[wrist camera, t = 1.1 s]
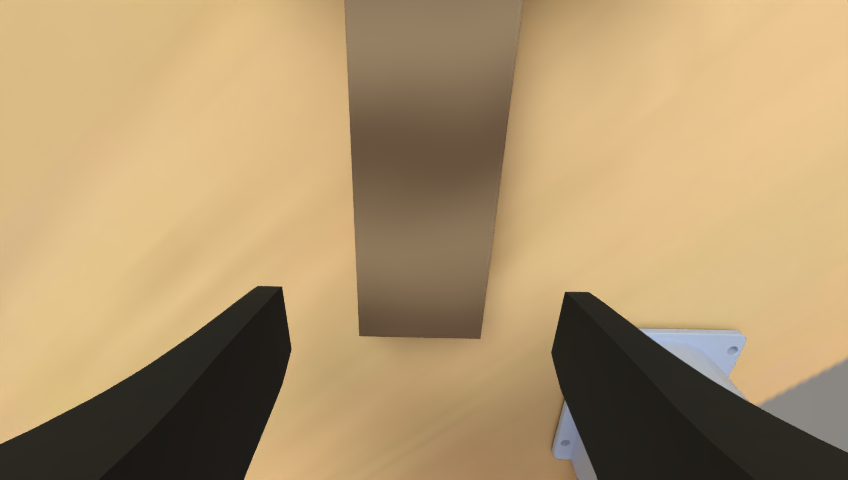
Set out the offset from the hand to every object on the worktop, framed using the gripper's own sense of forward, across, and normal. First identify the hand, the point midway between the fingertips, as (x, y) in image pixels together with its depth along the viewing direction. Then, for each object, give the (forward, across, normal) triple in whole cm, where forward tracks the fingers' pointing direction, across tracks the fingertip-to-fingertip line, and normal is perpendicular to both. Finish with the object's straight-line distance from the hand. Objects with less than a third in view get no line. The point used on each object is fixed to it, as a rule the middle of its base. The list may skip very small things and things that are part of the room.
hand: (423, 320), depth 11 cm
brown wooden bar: (+8, 0, -3) cm, 9 cm away
